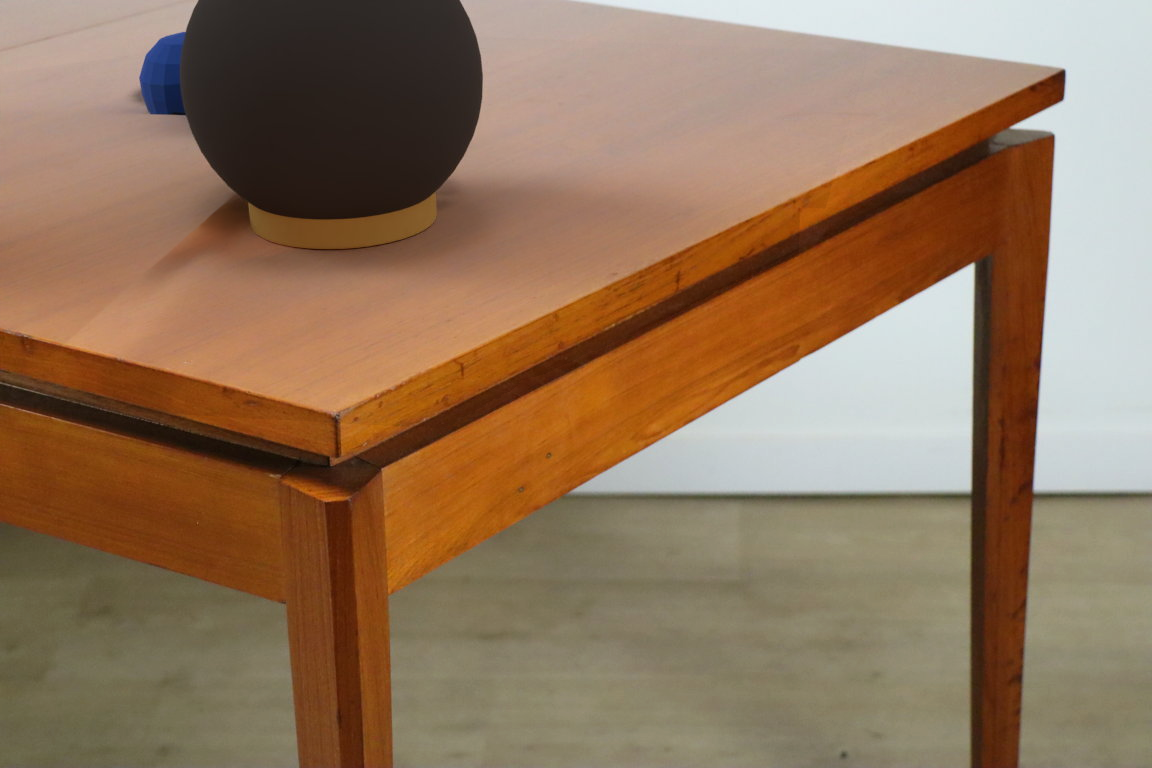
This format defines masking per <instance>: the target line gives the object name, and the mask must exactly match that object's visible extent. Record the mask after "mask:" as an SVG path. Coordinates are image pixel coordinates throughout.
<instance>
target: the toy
mask: <svg viewBox="0 0 1152 768" xmlns="http://www.w3.org/2000/svg"><path fill="white" fill-rule="evenodd" d="M185 33H186V31H181V32H176V33H173V34H169V35H165V36H162V37H161V38H159V39H158V40H157V42H156V43H155V44H154V45H153V46H152V47H151V49H149V50H148V51H147V52H146V54H145V56H144V59H143V63H142V66H141V69H140V74H139V78H138V79H139V84H140V90H141V95H142V98H143V101H144V104H145V107H146V109H147V111H148V113H149V114H150V115H156V116H157V115H163V116H186V114H185V111H184V106H183V100H182V95H181V87H180V61H181V50H182V46H183V42H184V37H185Z"/></svg>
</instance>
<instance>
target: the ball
mask: <svg viewBox="0 0 1152 768" xmlns="http://www.w3.org/2000/svg"><path fill="white" fill-rule="evenodd" d="M185 32H186V33H185V37H184V42H183V46H182V50H181V61H180V87H181V95H182V100H183V106H184V111H185V114H186V115H185V116H186V119H187V122H188V126H189V128H190V131H191V134H192V137H193V138H194V140H195V142H196V144H197V146H198V149H199V150H200V152H201V154H202V155H203V157H204V159H205V160H206V161H207V163H208V164H209V166H210V167H211V168H212V170H213V171H214V172H215V173H216V174H217V176H218V177H219V178H220V179H221V180H222V181H223V182H224V183H225V184H226V186H227V187H229V188H230V189H231V190H232V191H233V192H234V193H236V195H238V196H239V197H240V198H241V199H243V200H244V201H245V202H247V206H248V215H249V223H250V228H251V230H252V231H253V233H254V234H256V235H257V236H258V237H259V238H262V239H263V240H266V241H268V242H271V243H274V244H278V245H281V246H285V247H293V248H298V249H299V248H301V249H310V250H312V249H314V250H348V249H357V248H358V249H360V248H367V247H374V246H380V245H385V244H389V243H390V244H391V243H393V242H398V241H401V240H405V239H407V238H410V237H412V236H415V235H418V234H419V233H421V232H424V231H425V230H427V229H428V228H429V227H430V226H432V225H433V224H434V223H435V221H436V219H437V216H438V215H437V213H438V211H437V191H438V190H439V189H440V188H441V187H442V186H443V185H444V184H445V183H446V182H447V180H448V179H449V178H450V177H452V175H453V174H454V172H455V171H456V169H457V168H458V166H459V164H460V163H461V162H462V160H463V158H464V156H465V155H466V152H467V151H468V148H469V147H470V144H471V142H472V140H473V138H474V136H475V132H476V129H477V126H478V122H479V119H480V115H481V110H482V109H481V108H482V103H483V86H484V85H483V84H484V74H483V63H482V55H481V51H480V46H479V42H478V37H477V34H476V31H475V29H474V27H473V23H472V21H471V19H470V16H469V15H468V13H467V11H466V9H465V7H464V5H463V4H462V1H461V0H197V2H196V4H195V6H194V8H193V10H192V12H191V14H190V17H189V20H188V23H187V26H186V29H185Z"/></svg>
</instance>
